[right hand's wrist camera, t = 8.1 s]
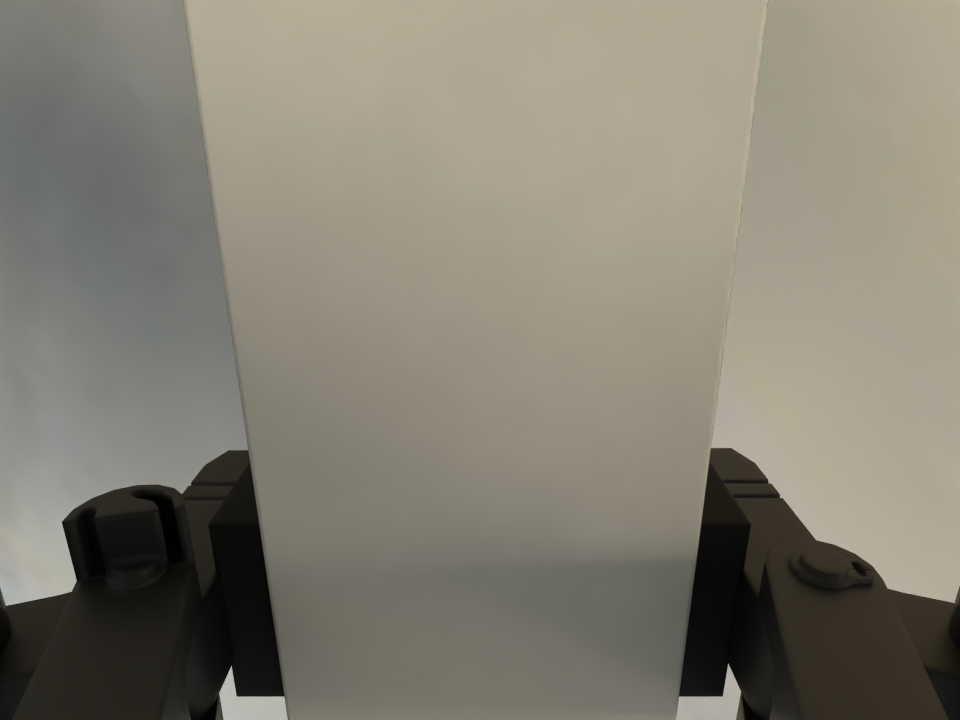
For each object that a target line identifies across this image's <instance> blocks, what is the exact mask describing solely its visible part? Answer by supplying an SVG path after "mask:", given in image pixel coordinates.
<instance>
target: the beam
mask: <svg viewBox="0 0 960 720" xmlns="http://www.w3.org/2000/svg"><path fill="white" fill-rule="evenodd" d="M183 6H184V13H185V19H186V26H187V33H188V40H189V47H190V54H191V60H192V67H193V74H194V81H195V88H196V95H197V101H198V108H199V115H200V122H201V129H202V136H203V143H204V149H205V156H206V163H207V170H208V177H209V184H210V190H211V197H212V204H213V211H214V218H215V225H216V231H217V238H218V245H219V252H220V259H221V266H222V272H223V279H224V286H225V293H226V300H227V307H228V313H229V320H230V327H231V334H232V341H233V348H234V354H235V361H236V368H237V375H238V382H239V389H240V395H241V402H242V409H243V416H244V423H245V430H246V437H247V443H248V450H249V457H250V464H251V471H252V478H253V484H254V491H255V498H256V505H257V512H258V519H259V525H260V532H261V539H262V546H263V553H264V560H265V566H266V573H267V580H268V587H269V594H270V601H271V607H272V614H273V621H274V628H275V635H276V642H277V648H278V655H279V662H280V669H281V676H282V683H283V689H284V696H285V703H286V710H287V717H288V720H676V715H677V707H678V700H679V692H680V684H681V676H682V669H683V661H684V653H685V645H686V637H687V630H688V622H689V614H690V606H691V598H692V591H693V583H694V575H695V567H696V560H697V552H698V544H699V536H700V528H701V521H702V513H703V505H704V497H705V489H706V482H707V474H708V466H709V458H710V450H711V443H712V435H713V427H714V419H715V412H716V404H717V396H718V388H719V380H720V373H721V365H722V357H723V349H724V341H725V334H726V326H727V318H728V310H729V303H730V295H731V287H732V279H733V271H734V264H735V256H736V248H737V240H738V232H739V225H740V217H741V209H742V201H743V193H744V186H745V178H746V170H747V162H748V155H749V147H750V139H751V131H752V123H753V116H754V108H755V100H756V92H757V84H758V77H759V69H760V61H761V53H762V46H763V38H764V30H765V22H766V14H767V7H768V0H183Z"/></svg>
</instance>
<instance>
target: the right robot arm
mask: <svg viewBox="0 0 960 720" xmlns="http://www.w3.org/2000/svg"><path fill="white" fill-rule="evenodd" d="M62 524H63V528H64V532H65V536H66V540H67V544H68V547H69V551H70V555H71V559H72V563H73V567H74V571H75V575H76V579H77V582H76V584H75V586H74V588H73V590H72V592H69V593H65V594H62V595H58V596H53V597H48V598H43V599H38V600H34V601H29V602H24V603H19V604H14V605H9V606H6V605H5V602H4V599H3V596H2V592H1V589H0V720H223V714H222V707H221V702H220V696H219V692H220V690H221V688H222V685H223V683H224V681H225V679H226V676H227V674H228V672H229V670H230V668H231V665H232V670H233V676H234V682H235V688H236V694H237V696H284V689H283V683H282V676H281V669H280V662H279V655H278V648H277V642H276V635H275V628H274V621H273V614H272V607H271V601H270V594H269V587H268V580H267V573H266V566H265V560H264V553H263V546H262V539H261V532H260V525H259V519H258V512H257V505H256V498H255V491H254V484H253V478H252V471H251V464H250V457H249V450H228V451H227V452H225V453H224V454H222V455H220V456H219V457H217V458H216V459H214V460H213V461H211V462H209V463H208V464H206V465H205V466H204V467H203V468H202V470H201V471H200V472H199V473H198V475H197V476H196V477H195V479H194V480H193V481H192V482H191V486H188V487H187V489H186V490H185V491H184V493H183V494H181V493H180V492H178V491H177V490H176V489H174V488H171V487H166V486H161V485H136V486H131V487H126V488H121V489H117V490H113V491H110V492H107V493H105V494H102V495H100V496H97V497H94V498H92V499H90V500H88V501H87V502H85V503H83V504H82V505H80V506H78V507H77V508H75V509H74V510H73V511H72V512H71V513H70V514H69V515H68V516H67V517H66V518H65V519H64V520H63V521H62ZM728 663H729V665H730V668H731V670H732V672H733V674H734V676H735V679H736V681H737V683H738V685H739V688H740V690H741V696H740V702H739V707H738V713H737V718H736V720H960V587H959V590H958V593H957V597H956V600H955V603H951V602H946V601H941V600H936V599H931V598H926V597H921V596H916V595H911V594H906V593H902V592H898V591H894V590H890V589H887V587H886V585H885V583H884V581H883V579H882V578H881V577H880V575H879V574H878V573H877V571H876V570H875V569H874V568H873V566H871V565H870V564H869V563H867V562H866V561H864V560H863V559H861V558H860V557H859V556H857V555H856V554H854V553H852V552H849V551H847V550H845V549H843V548H840V547H838V546H836V545H833V544H829V543H824V542H820V541H816V540H815V538H814V537H813V536H812V535H811V533H810V532H809V531H808V530H807V528H806V527H805V526H804V525H803V523H802V522H801V521H800V520H799V518H798V517H797V516H796V514H795V513H794V512H793V511H792V509H791V508H790V507H789V506H788V504H787V503H786V502H785V501H784V499H783V498H780V494H779V493H778V492H777V490H776V489H775V488H774V487H773V485H772V484H769V483H768V479H767V478H766V477H765V475H764V474H763V473H762V471H761V470H760V469H759V468H758V466H757V465H756V464H755V463H754V462H752V461H751V460H749V459H748V458H746V457H744V456H743V455H741V454H740V453H738V452H736V451H735V450H733V449H732V448H711V450H710V458H709V466H708V474H707V482H706V489H705V497H704V505H703V513H702V521H701V528H700V536H699V544H698V552H697V560H696V567H695V575H694V583H693V591H692V598H691V606H690V614H689V622H688V630H687V637H686V645H685V653H684V661H683V669H682V676H681V684H680V692H679V696H723V691H724V685H725V679H726V673H727V667H728Z"/></svg>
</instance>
